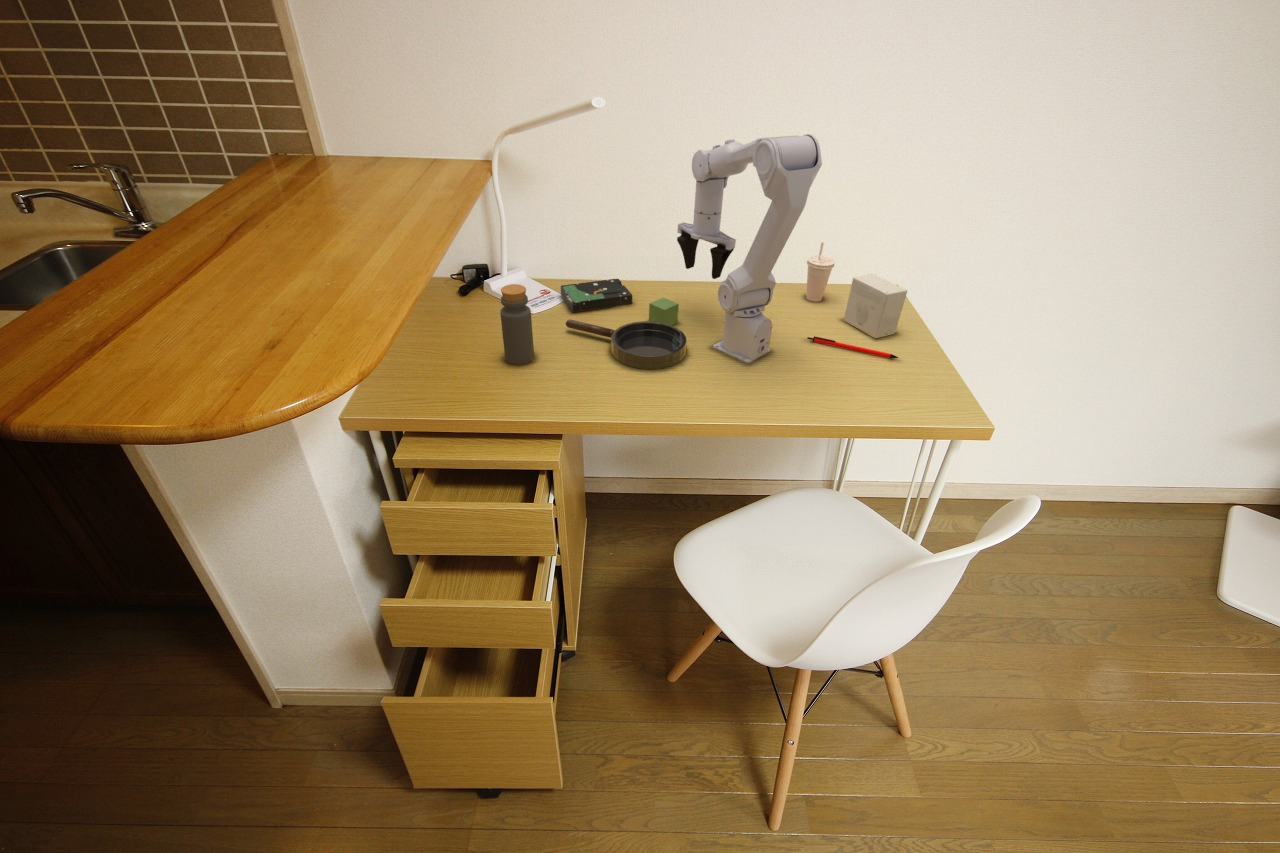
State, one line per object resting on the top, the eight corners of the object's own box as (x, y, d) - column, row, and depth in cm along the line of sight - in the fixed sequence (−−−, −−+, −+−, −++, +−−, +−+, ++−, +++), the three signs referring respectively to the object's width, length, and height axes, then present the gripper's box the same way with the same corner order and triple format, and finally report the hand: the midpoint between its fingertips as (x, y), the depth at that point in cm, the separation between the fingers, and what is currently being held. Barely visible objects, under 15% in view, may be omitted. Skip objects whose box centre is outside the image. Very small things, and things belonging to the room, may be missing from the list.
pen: (807, 338, 143) (808, 334, 142) (898, 358, 136) (899, 353, 136) (806, 340, 142) (807, 335, 141) (898, 360, 136) (899, 355, 135)
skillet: (700, 352, 137) (701, 339, 135) (649, 379, 128) (649, 364, 126) (647, 327, 145) (647, 314, 144) (596, 350, 136) (595, 337, 134)
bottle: (538, 353, 135) (533, 284, 126) (527, 367, 130) (521, 297, 122) (512, 349, 136) (505, 281, 127) (500, 362, 131) (492, 292, 123)
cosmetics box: (896, 333, 146) (909, 289, 140) (875, 339, 143) (887, 294, 137) (863, 314, 153) (873, 272, 147) (842, 320, 151) (851, 276, 145)
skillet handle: (617, 336, 139) (617, 328, 138) (613, 340, 138) (613, 332, 137) (568, 324, 143) (568, 317, 142) (564, 328, 141) (563, 320, 140)
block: (677, 323, 148) (678, 303, 145) (663, 329, 145) (664, 309, 142) (662, 316, 150) (663, 297, 147) (648, 322, 147) (649, 303, 145)
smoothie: (795, 294, 162) (805, 238, 154) (818, 291, 164) (829, 236, 155) (808, 305, 157) (819, 248, 149) (832, 302, 159) (844, 245, 151)
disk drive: (617, 288, 163) (560, 295, 158) (618, 277, 161) (559, 284, 156) (632, 305, 155) (572, 313, 150) (633, 294, 153) (572, 302, 149)
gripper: (669, 206, 139) (666, 267, 147) (723, 223, 131) (716, 287, 139) (691, 199, 143) (687, 259, 151) (744, 215, 135) (737, 278, 143)
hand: (702, 272), depth 145 cm, fingers open, 7 cm apart
